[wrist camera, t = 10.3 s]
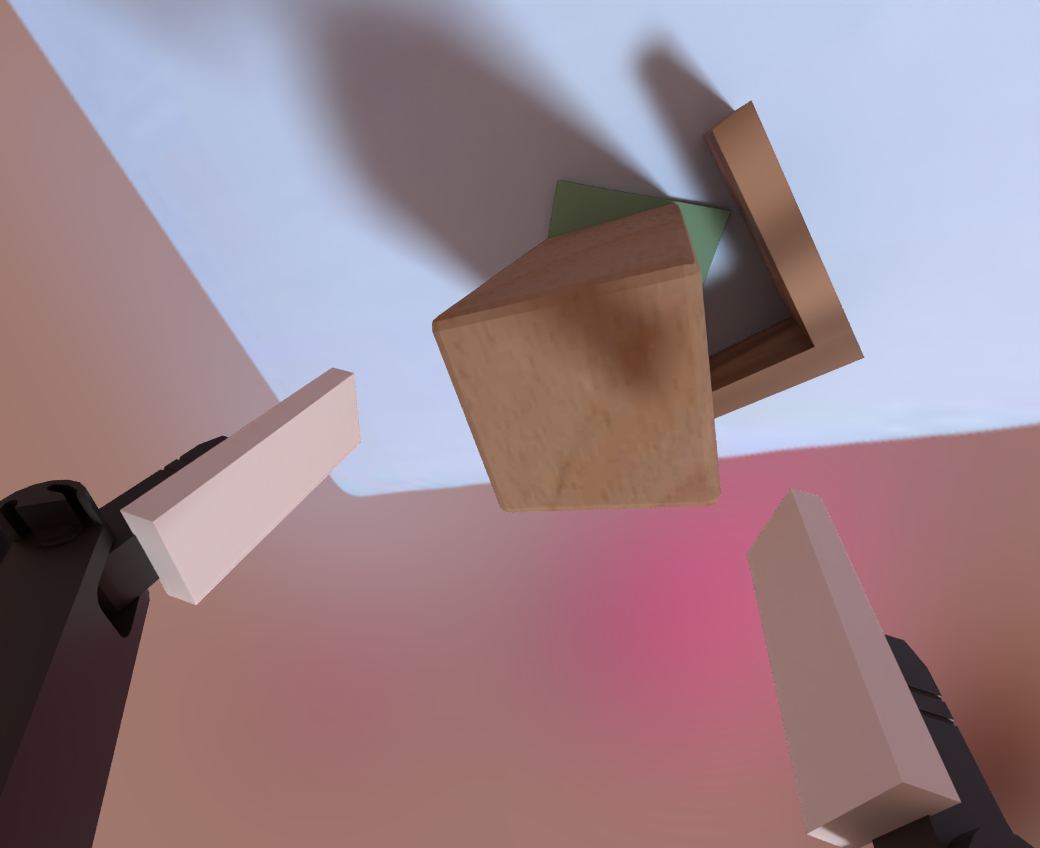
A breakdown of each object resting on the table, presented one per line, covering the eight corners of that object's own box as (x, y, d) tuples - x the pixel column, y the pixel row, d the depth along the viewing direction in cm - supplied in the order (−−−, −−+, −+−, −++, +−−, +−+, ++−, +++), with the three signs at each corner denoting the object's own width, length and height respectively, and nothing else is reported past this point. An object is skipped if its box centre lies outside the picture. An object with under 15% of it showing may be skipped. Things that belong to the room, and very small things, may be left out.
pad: (533, 335, 38) (532, 337, 37) (558, 180, 31) (557, 180, 31) (671, 368, 36) (671, 370, 36) (729, 210, 29) (730, 211, 29)
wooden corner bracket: (495, 290, 37) (469, 311, 32) (735, 110, 26) (751, 100, 22) (595, 433, 41) (586, 470, 36) (832, 326, 31) (864, 357, 26)
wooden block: (679, 200, 29) (700, 256, 13) (693, 338, 34) (723, 510, 17) (541, 239, 33) (423, 321, 17) (570, 359, 37) (499, 516, 21)
